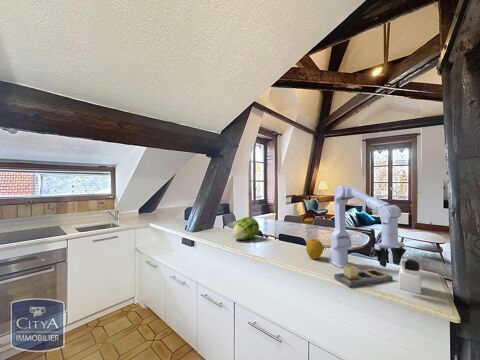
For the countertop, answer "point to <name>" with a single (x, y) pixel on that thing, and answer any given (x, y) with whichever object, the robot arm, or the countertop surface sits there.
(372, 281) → the grey rectangular frame
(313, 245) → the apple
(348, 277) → the tan rectangular block
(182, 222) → the countertop surface
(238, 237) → the lettuce
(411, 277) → the medicine bottle
